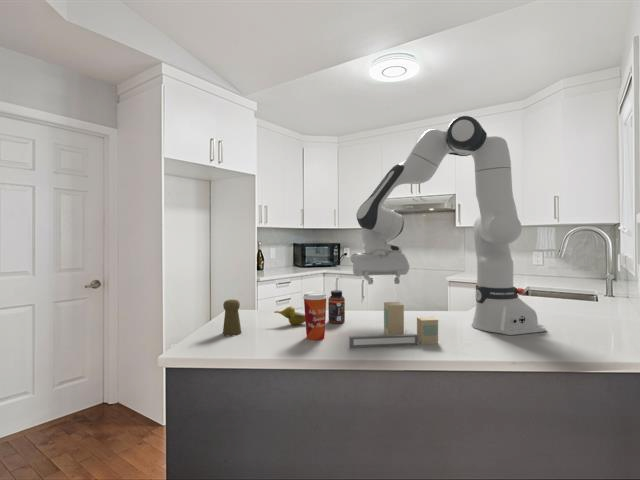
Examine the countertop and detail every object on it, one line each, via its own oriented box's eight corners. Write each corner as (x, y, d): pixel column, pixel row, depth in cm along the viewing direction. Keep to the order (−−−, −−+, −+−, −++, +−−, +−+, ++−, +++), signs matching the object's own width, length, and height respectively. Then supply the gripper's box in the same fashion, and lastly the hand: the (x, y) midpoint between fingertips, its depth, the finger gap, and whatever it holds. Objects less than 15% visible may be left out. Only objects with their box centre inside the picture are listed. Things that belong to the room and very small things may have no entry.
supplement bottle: (343, 324, 132) (343, 292, 132) (327, 323, 133) (326, 292, 133) (345, 320, 138) (345, 289, 138) (330, 319, 139) (329, 289, 139)
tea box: (432, 339, 114) (432, 316, 114) (438, 343, 110) (438, 320, 110) (417, 339, 114) (416, 317, 113) (421, 344, 110) (421, 320, 109)
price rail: (416, 343, 110) (416, 333, 110) (418, 345, 108) (418, 335, 108) (349, 346, 108) (349, 336, 108) (350, 348, 107) (350, 337, 107)
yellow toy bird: (274, 324, 134) (273, 306, 133) (315, 322, 136) (315, 304, 135) (274, 327, 129) (274, 308, 129) (317, 325, 131) (317, 306, 131)
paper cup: (309, 342, 112) (309, 296, 111) (299, 336, 119) (298, 292, 118) (332, 338, 115) (332, 293, 115) (321, 332, 122) (320, 290, 122)
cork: (245, 331, 124) (244, 299, 124) (233, 336, 119) (233, 302, 118) (230, 329, 127) (229, 297, 126) (218, 334, 121) (218, 301, 121)
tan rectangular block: (399, 332, 122) (399, 301, 122) (403, 336, 117) (403, 305, 117) (383, 332, 121) (383, 302, 121) (387, 337, 116) (387, 305, 116)
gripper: (350, 247, 136) (355, 278, 127) (405, 247, 138) (414, 277, 129) (349, 259, 141) (353, 289, 132) (401, 258, 143) (410, 287, 133)
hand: (384, 283), depth 130 cm, fingers open, 8 cm apart
